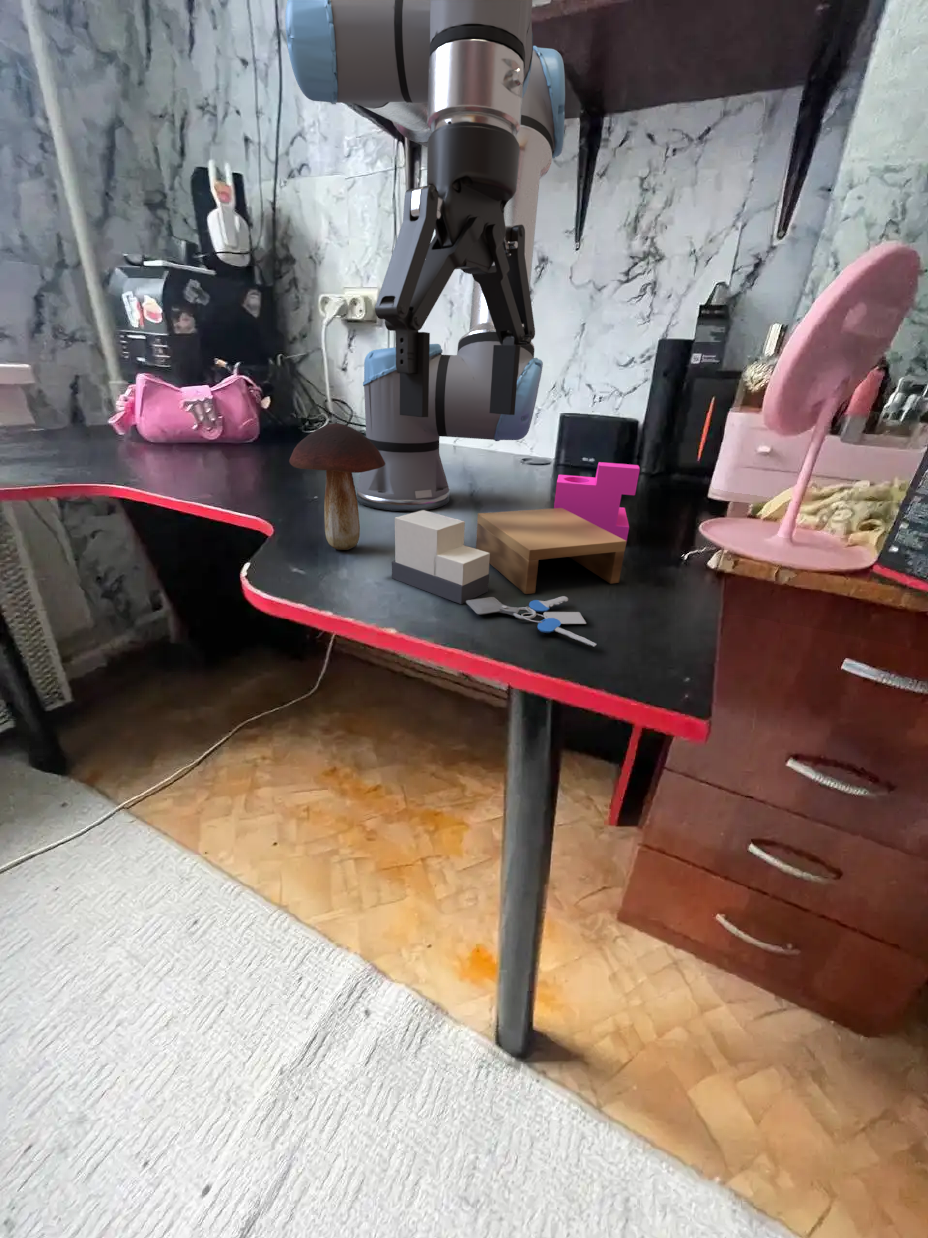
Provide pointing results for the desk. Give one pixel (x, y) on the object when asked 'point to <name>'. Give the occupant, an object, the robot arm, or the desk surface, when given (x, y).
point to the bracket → (599, 496)
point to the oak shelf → (546, 544)
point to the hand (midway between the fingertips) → (461, 415)
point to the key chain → (545, 625)
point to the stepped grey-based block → (438, 557)
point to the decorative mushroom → (338, 476)
